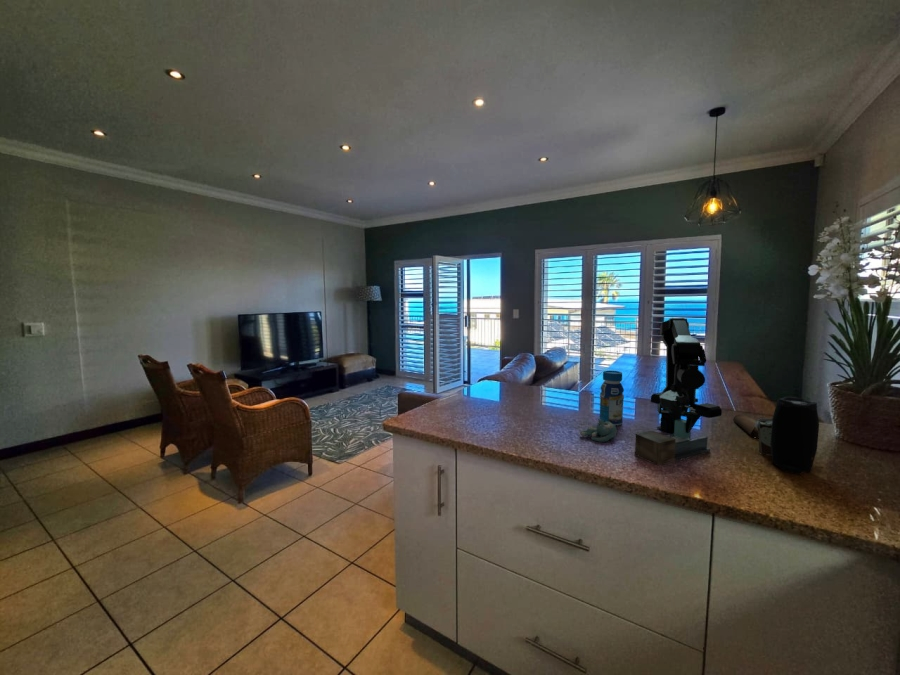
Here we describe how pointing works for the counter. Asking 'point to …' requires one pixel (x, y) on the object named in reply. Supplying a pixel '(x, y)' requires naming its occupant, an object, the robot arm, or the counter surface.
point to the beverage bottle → (612, 397)
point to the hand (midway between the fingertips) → (682, 431)
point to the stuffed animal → (601, 431)
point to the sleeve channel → (690, 447)
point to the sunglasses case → (747, 424)
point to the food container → (764, 435)
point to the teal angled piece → (680, 431)
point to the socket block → (655, 447)
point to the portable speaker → (794, 434)
